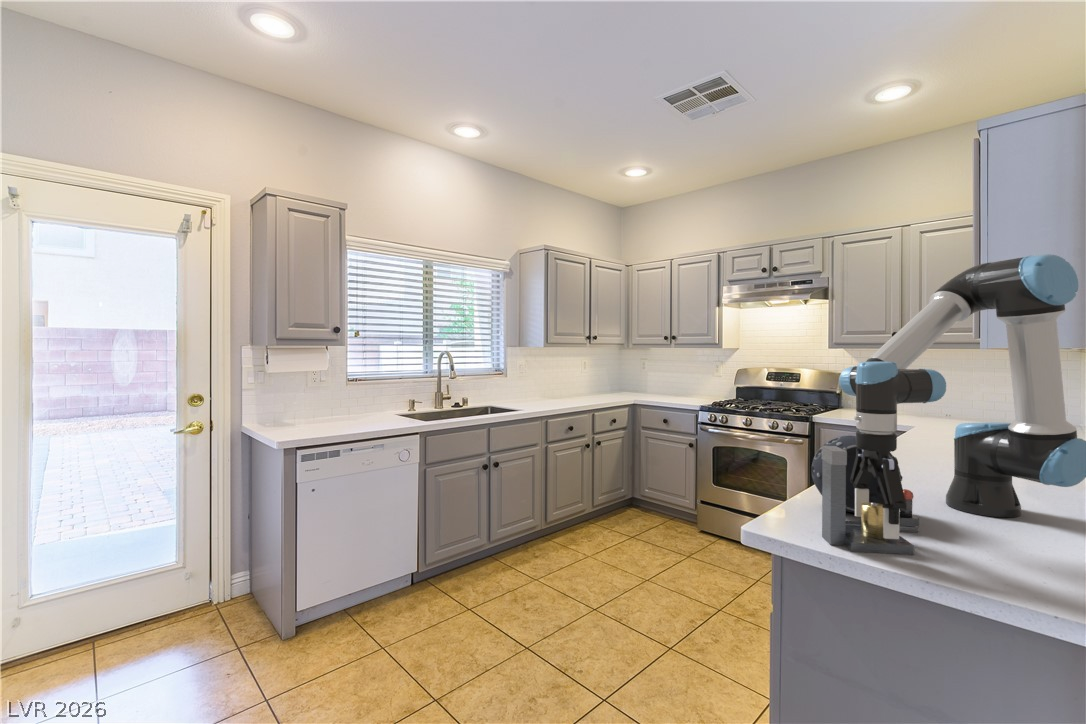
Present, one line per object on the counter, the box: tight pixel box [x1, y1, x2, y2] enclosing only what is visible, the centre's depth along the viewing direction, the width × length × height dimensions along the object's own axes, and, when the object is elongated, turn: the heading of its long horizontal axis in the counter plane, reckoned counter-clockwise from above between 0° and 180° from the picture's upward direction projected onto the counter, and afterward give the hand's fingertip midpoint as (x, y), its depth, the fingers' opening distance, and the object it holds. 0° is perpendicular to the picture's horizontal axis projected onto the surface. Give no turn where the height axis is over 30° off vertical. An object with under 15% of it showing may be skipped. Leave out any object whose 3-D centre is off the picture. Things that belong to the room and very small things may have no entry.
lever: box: [899, 488, 920, 527], centre depth 119 cm, size 4×3×8 cm
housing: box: [860, 502, 885, 539], centre depth 111 cm, size 5×5×7 cm
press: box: [821, 445, 919, 556], centre depth 113 cm, size 23×17×21 cm
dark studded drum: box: [811, 435, 903, 514], centre depth 133 cm, size 11×20×20 cm, turn 78°
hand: (875, 526), depth 111 cm, fingers open, 13 cm apart
